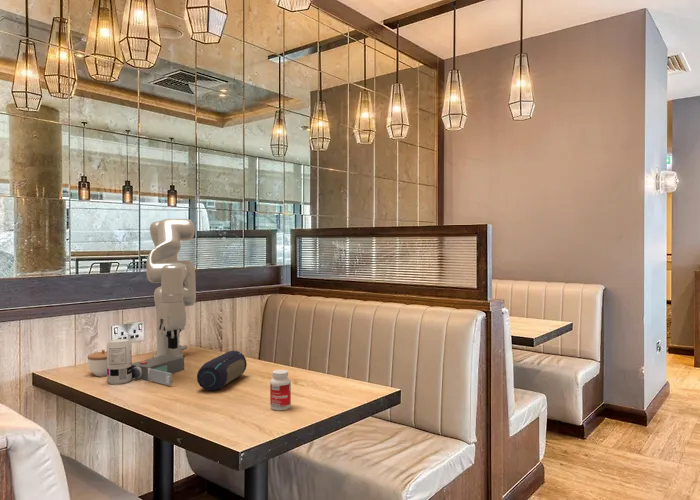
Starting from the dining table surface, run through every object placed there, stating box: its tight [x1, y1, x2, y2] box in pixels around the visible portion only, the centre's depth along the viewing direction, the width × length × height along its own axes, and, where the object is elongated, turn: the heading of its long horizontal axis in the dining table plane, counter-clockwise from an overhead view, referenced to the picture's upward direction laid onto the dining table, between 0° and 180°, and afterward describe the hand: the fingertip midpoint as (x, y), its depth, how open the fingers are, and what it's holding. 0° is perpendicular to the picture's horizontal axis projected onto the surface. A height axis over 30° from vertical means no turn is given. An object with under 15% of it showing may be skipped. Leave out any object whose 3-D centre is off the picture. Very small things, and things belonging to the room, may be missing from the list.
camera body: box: [131, 355, 185, 382], centre depth 197 cm, size 19×12×6 cm, turn 154°
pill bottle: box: [269, 369, 292, 411], centre depth 156 cm, size 6×6×11 cm
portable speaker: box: [196, 350, 248, 392], centre depth 184 cm, size 25×10×10 cm, turn 169°
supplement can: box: [106, 338, 133, 385], centre depth 187 cm, size 8×8×15 cm
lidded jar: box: [87, 349, 107, 377], centre depth 198 cm, size 11×11×9 cm
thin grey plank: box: [149, 369, 173, 387], centre depth 183 cm, size 12×1×4 cm, turn 55°
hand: (172, 348), depth 189 cm, fingers closed
